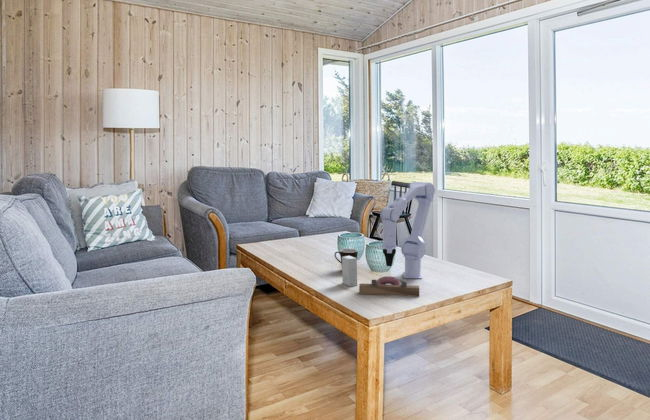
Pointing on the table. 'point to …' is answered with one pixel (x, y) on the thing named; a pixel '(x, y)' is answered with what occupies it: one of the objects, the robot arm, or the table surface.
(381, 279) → the video game controller
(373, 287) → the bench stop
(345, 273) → the skincare box
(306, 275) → the table surface
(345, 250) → the coffee mug
